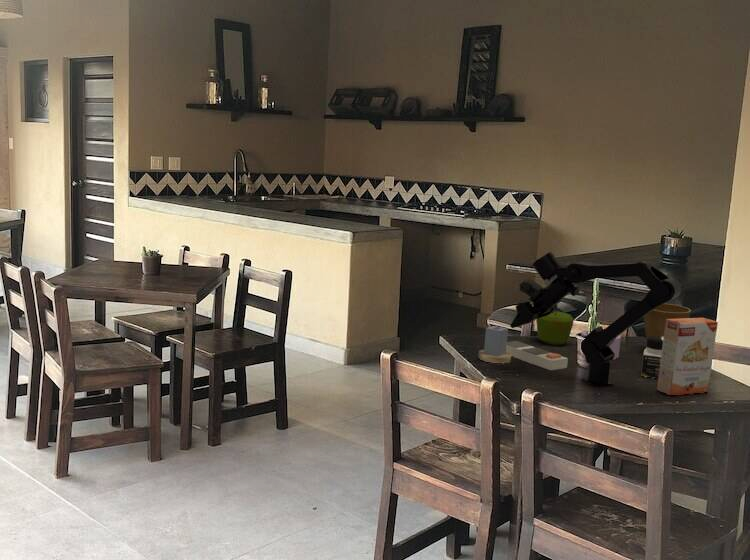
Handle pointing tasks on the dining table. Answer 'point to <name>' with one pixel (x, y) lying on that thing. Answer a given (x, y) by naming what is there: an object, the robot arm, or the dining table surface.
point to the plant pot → (663, 318)
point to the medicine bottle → (652, 357)
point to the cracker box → (686, 356)
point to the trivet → (495, 358)
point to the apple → (555, 328)
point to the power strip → (536, 356)
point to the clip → (614, 346)
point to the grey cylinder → (495, 341)
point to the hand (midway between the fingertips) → (517, 324)
